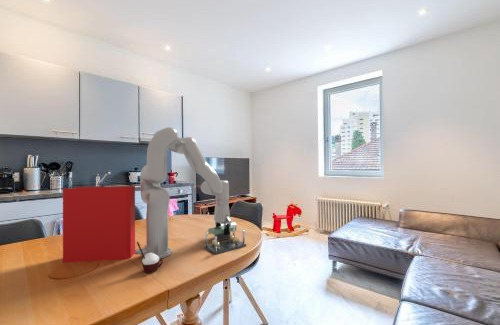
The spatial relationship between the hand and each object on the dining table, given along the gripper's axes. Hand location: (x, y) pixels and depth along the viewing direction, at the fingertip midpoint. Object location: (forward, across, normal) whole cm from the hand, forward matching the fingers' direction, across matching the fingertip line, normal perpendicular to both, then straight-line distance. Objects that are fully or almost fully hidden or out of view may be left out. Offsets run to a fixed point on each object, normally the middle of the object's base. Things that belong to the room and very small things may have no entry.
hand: (222, 232), depth 131 cm
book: (+3, -12, -57) cm, 58 cm away
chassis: (+3, +13, -6) cm, 15 cm away
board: (-1, 0, 0) cm, 1 cm away
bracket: (+4, -15, +11) cm, 19 cm away
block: (+3, 0, 0) cm, 3 cm away
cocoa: (+3, +16, -43) cm, 46 cm away
